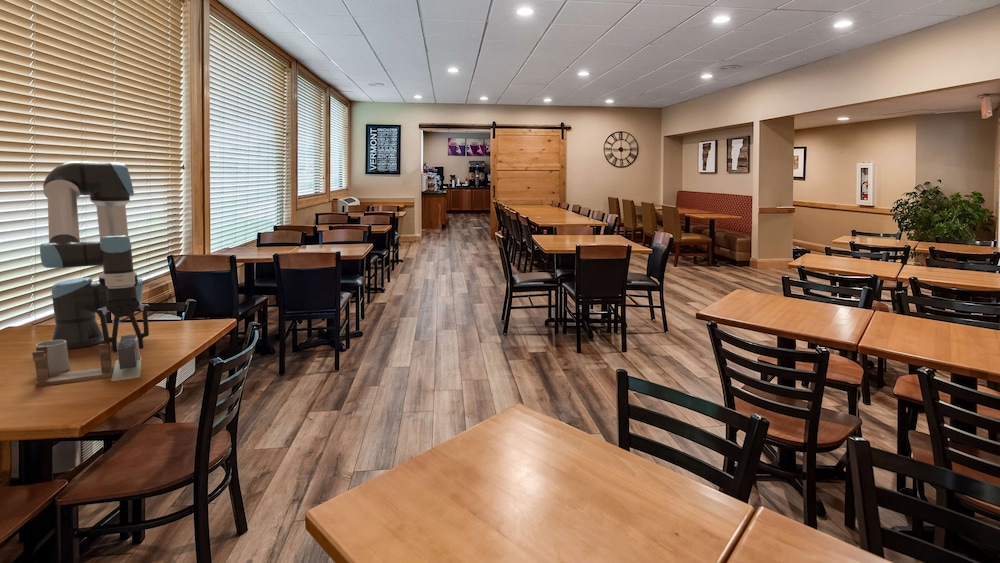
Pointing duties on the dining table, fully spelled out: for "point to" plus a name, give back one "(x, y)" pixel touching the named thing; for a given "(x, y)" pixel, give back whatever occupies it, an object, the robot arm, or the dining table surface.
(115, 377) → the mat
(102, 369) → the stand
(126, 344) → the rail
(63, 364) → the cup
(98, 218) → the robot arm
